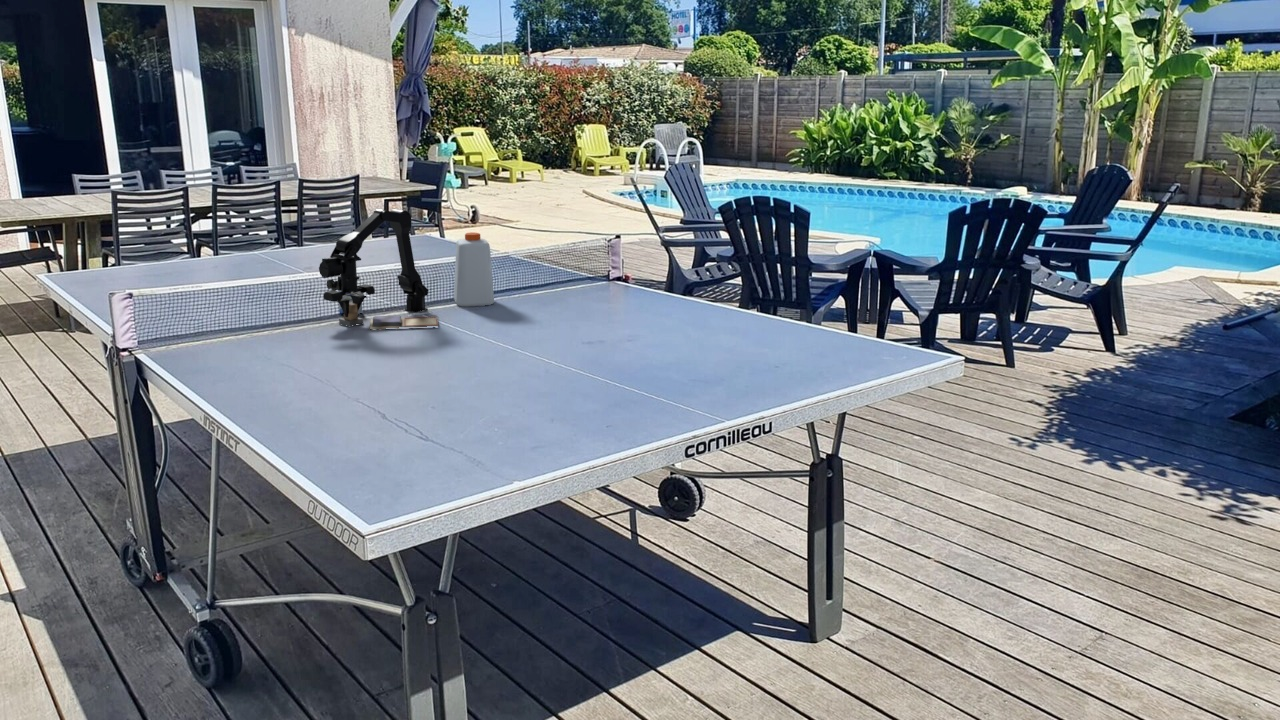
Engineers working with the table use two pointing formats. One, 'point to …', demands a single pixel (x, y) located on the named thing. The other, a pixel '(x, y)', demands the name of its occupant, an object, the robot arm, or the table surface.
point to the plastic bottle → (473, 272)
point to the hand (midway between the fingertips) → (350, 315)
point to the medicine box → (349, 302)
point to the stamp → (351, 316)
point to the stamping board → (401, 322)
